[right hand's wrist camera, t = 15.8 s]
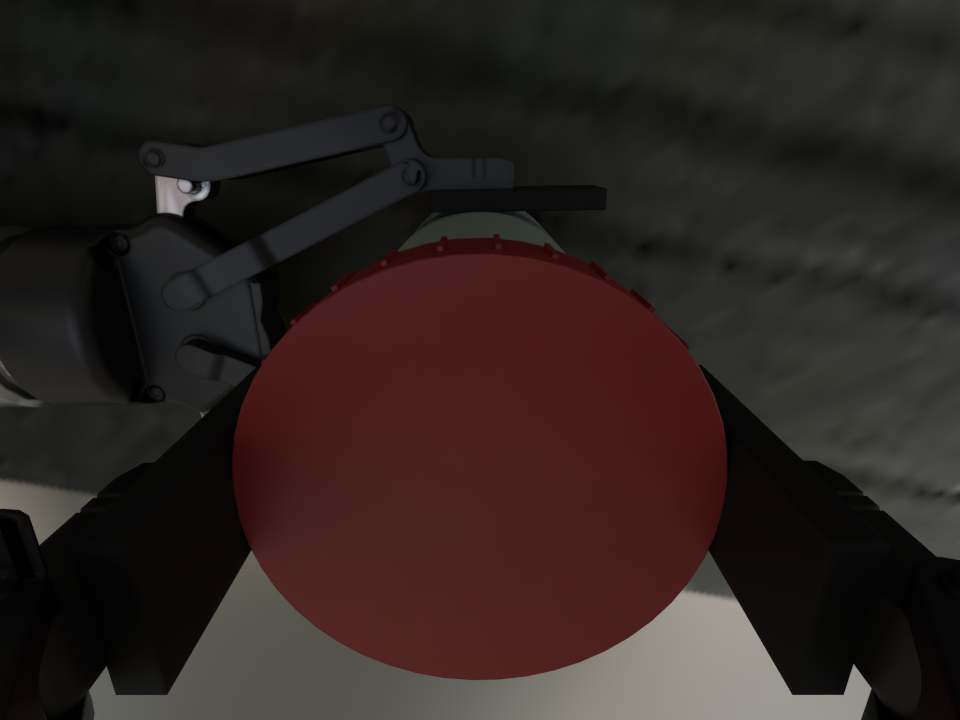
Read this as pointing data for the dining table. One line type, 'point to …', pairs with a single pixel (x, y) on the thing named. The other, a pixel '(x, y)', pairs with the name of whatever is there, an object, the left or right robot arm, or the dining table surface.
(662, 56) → the dining table surface
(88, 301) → the left robot arm
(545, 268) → the lid
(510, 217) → the jar
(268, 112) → the dining table surface
